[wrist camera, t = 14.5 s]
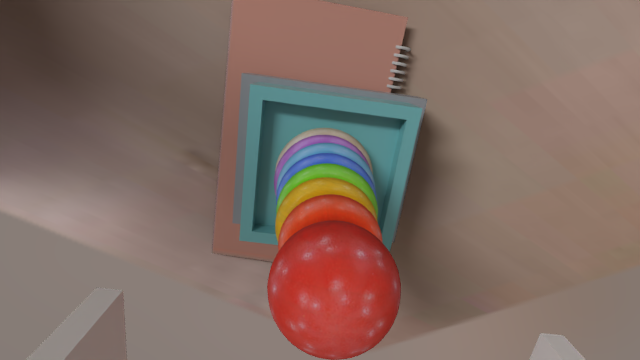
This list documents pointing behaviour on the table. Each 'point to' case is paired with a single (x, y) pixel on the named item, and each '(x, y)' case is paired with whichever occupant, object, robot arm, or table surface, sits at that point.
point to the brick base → (320, 112)
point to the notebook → (297, 75)
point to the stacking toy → (330, 249)
